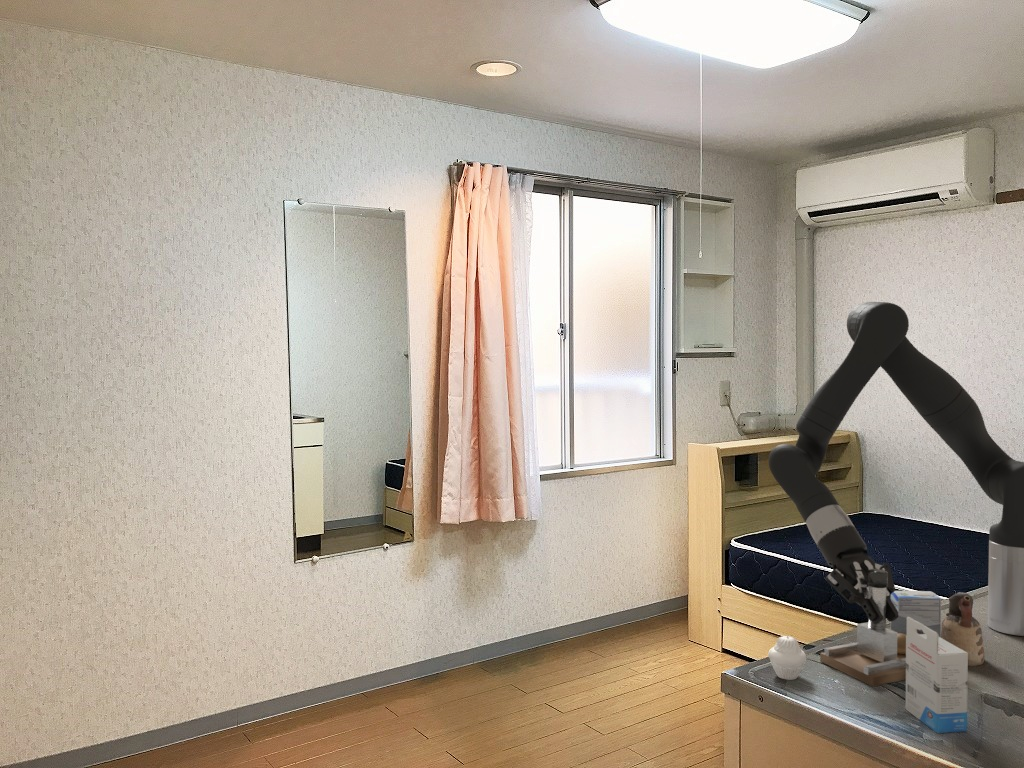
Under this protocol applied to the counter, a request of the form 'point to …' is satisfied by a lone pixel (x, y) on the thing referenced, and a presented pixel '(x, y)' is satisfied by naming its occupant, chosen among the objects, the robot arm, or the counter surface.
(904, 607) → the medicine box
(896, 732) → the counter surface
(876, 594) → the press handle
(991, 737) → the counter surface
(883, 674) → the wooden tray with rails
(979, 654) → the figurine
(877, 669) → the grey metal frame
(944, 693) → the ink box
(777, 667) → the muffin
